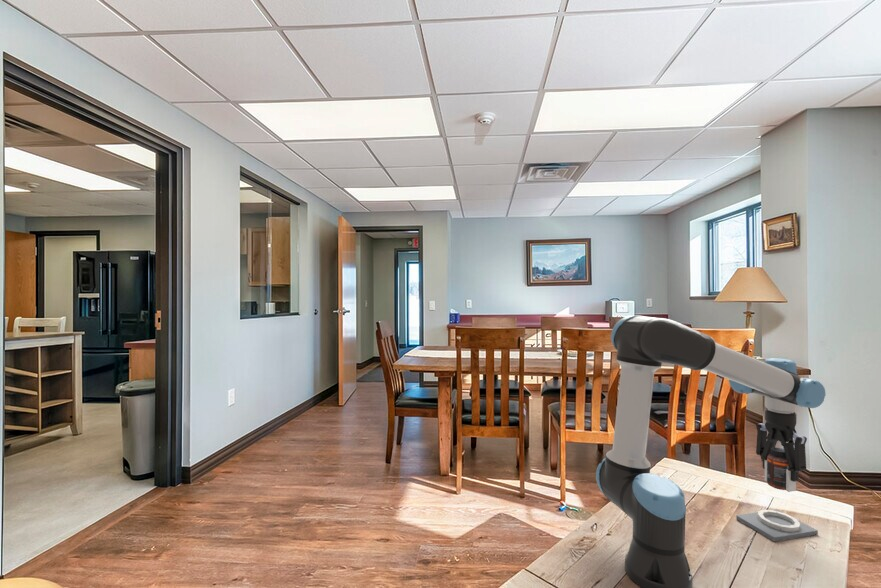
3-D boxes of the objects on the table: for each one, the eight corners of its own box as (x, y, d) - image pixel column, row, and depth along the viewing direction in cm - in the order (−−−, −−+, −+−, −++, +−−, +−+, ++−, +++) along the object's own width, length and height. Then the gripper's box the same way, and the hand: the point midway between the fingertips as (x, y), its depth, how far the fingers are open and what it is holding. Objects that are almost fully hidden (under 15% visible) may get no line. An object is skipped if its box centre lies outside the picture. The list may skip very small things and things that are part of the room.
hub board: (774, 541, 121) (774, 533, 121) (736, 519, 133) (736, 511, 133) (817, 534, 125) (817, 526, 125) (777, 513, 136) (777, 505, 136)
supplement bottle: (796, 492, 125) (797, 454, 125) (773, 490, 126) (774, 452, 126) (784, 483, 131) (785, 446, 131) (762, 481, 132) (763, 445, 132)
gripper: (824, 418, 120) (823, 499, 120) (760, 400, 138) (760, 471, 139) (803, 420, 118) (802, 502, 119) (741, 402, 137) (741, 473, 137)
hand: (779, 485), depth 129 cm, fingers closed on supplement bottle, 6 cm apart
